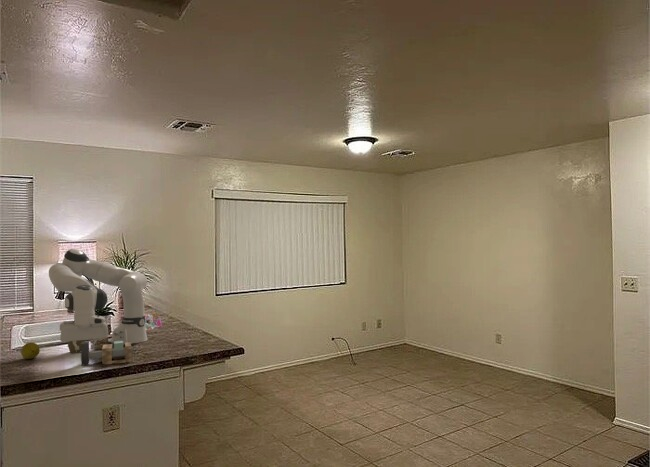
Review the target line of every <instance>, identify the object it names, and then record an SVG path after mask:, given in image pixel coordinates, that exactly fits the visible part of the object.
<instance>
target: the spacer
mask: <svg viewBox="0 0 650 467" xmlns="http://www.w3.org/2000/svg"><path fill="white" fill-rule="evenodd" d="M123 348H124V344H123V341H115V342H114V343H113V349H114V351H119V350H123Z"/></svg>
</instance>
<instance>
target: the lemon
mask: <svg viewBox="0 0 650 467" xmlns="http://www.w3.org/2000/svg"><path fill="white" fill-rule="evenodd" d="M20 354H21V356H22V358H24V359H26V360H31V359H34V358H36V357H37V356H39V354H40V346H39V345H38V344H37V343H35V342H28V343H27V342H26V343H25V344H24V345H23V346H22V348H21V349H20Z"/></svg>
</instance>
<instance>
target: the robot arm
mask: <svg viewBox="0 0 650 467" xmlns="http://www.w3.org/2000/svg"><path fill="white" fill-rule="evenodd" d="M82 276H83V277H82ZM84 276H85V277H86V278H85V277H84ZM48 277H49V280H50V282H51V284H52V286H53V287H54V288H55V289H56V290H58V291H59V292H63V293H68V294H66V295H65V297H64V306H65V307H64V308H65V309H67V311H69V312H74V313H73V320H70V321H68V320H67V321H63V322H61V323H60V324H59V331H60V337H59V338H60V342H62V343H65V342H66V343H68V341H73V345H74V346H75V350H79V346H77V345H76V341H79V340H85V341H89V340H93V344H90V349H91V350H93V349H95V346H96V343H97V342H98V341H97V340H100V339H107V338H108V337H109V328H108V327H109V326H108V324H107V322H106V317H105V316H101V315H96V311H95V310H102V309H103V308H104V307H105V306H106V305H107V304H108V296H107V293H106V291H105V290H103V289H102V288H98V286H96V285H95V284H94V283H93V282H91V281H90V280H89V279H91V280H93V281H96V282H99V283H102V284H105V285H107V286H113V287H118V288H119V289H120V292H121V293H120V294H121V296H122V297H121V298H122V303H123V317H121V318H120V319H119V320H120V321H121V323H120V324H119V325H118V326H117V327H116V328H115V329H113V330H112V334H111V338H108V339H107V343H111V344H114V342H115V341H123V345H125V343H128V342H131V344H138V343H139V344H140V343H143V342H147V341H148V340H149V339H148V336H147V331H146V328H145V315H144V314H145V301H144V298H143V293H142V290H144V289H145V288H146V286H147V283H148V279H147V276H146V275H145V274H143V273H141V272H138V271H135V270H132V269H127V268H123V267H119V266H116V265H113V264H109V263H107V262H103V261H99V260H95V259H90V258H89V256H87V253H86V252H84V251H83V250H79V249H75V248H71V249H68V250H67V251H66V252H65V253H64V257H63V259H62V262H60V263H59V262H58V263H54V264H52V265H51V266H50V268H48ZM88 278H89V279H88Z"/></svg>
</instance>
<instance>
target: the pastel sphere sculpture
mask: <svg viewBox="0 0 650 467" xmlns="http://www.w3.org/2000/svg"><path fill="white" fill-rule="evenodd" d="M144 315H145V328H146V332H147V331H152V330H154V329H158V328H161V327H162V326H163V322H162V317H161V316H160V315H159V314H156V312H152V313H151V315H150V314H146V313H144Z"/></svg>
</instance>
